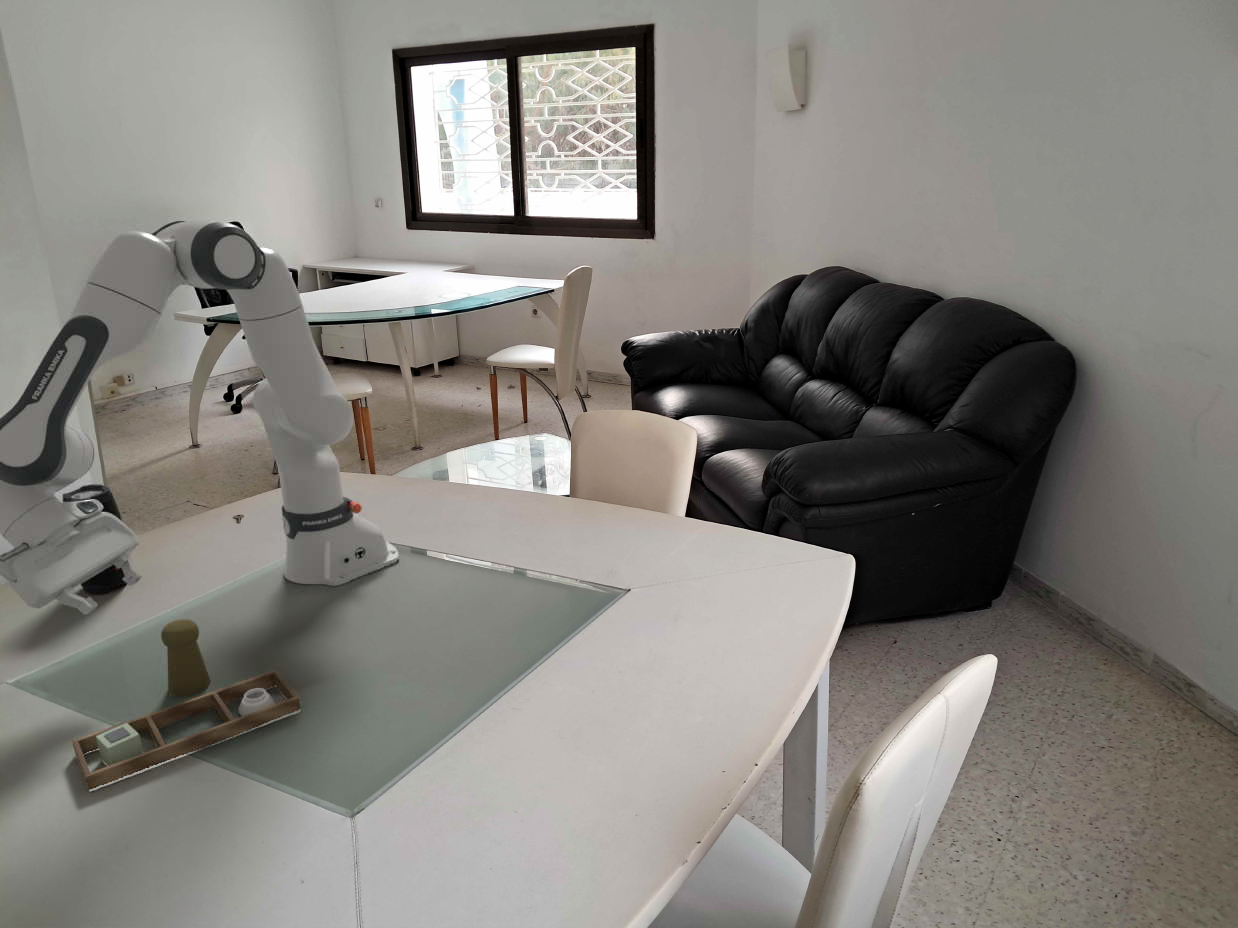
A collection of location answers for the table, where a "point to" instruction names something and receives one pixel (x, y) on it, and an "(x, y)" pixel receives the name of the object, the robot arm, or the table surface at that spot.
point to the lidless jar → (255, 701)
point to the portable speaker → (102, 494)
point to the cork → (184, 659)
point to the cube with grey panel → (119, 744)
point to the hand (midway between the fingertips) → (115, 595)
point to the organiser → (196, 740)
